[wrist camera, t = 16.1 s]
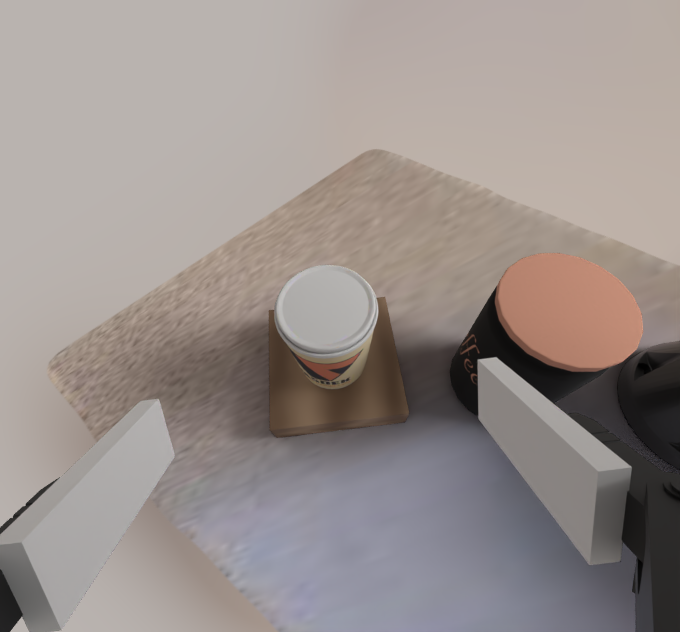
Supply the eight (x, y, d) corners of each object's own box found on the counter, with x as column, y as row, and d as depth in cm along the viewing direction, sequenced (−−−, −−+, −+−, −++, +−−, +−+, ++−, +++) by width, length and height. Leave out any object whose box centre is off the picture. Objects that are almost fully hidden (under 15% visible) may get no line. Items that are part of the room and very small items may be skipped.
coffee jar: (463, 330, 47) (516, 236, 31) (546, 364, 44) (651, 279, 28) (435, 400, 42) (480, 331, 27) (526, 443, 39) (636, 394, 24)
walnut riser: (383, 312, 48) (385, 296, 45) (404, 422, 41) (409, 413, 38) (275, 325, 48) (268, 310, 45) (277, 437, 41) (269, 430, 37)
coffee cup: (283, 386, 40) (256, 339, 29) (306, 316, 44) (291, 254, 34) (363, 405, 38) (366, 363, 28) (380, 331, 43) (387, 271, 32)
